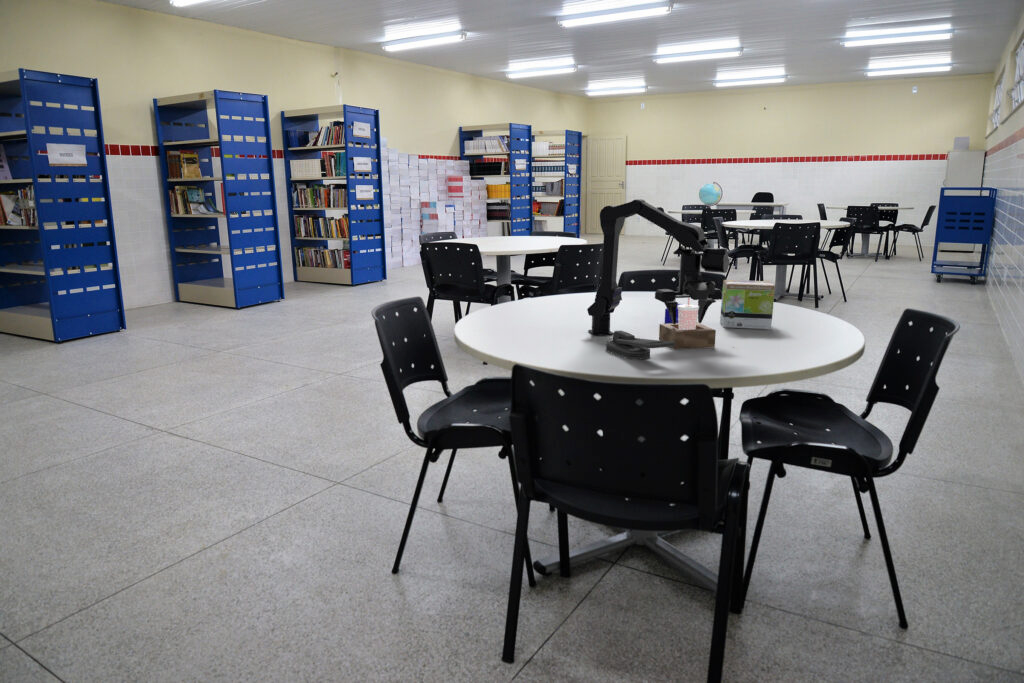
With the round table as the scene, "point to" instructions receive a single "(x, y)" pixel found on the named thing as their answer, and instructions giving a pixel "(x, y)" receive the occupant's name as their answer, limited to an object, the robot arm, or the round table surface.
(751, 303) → the tea box
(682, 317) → the beverage cup
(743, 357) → the round table surface
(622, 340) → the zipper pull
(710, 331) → the walnut well block
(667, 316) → the blue piece
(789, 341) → the round table surface
